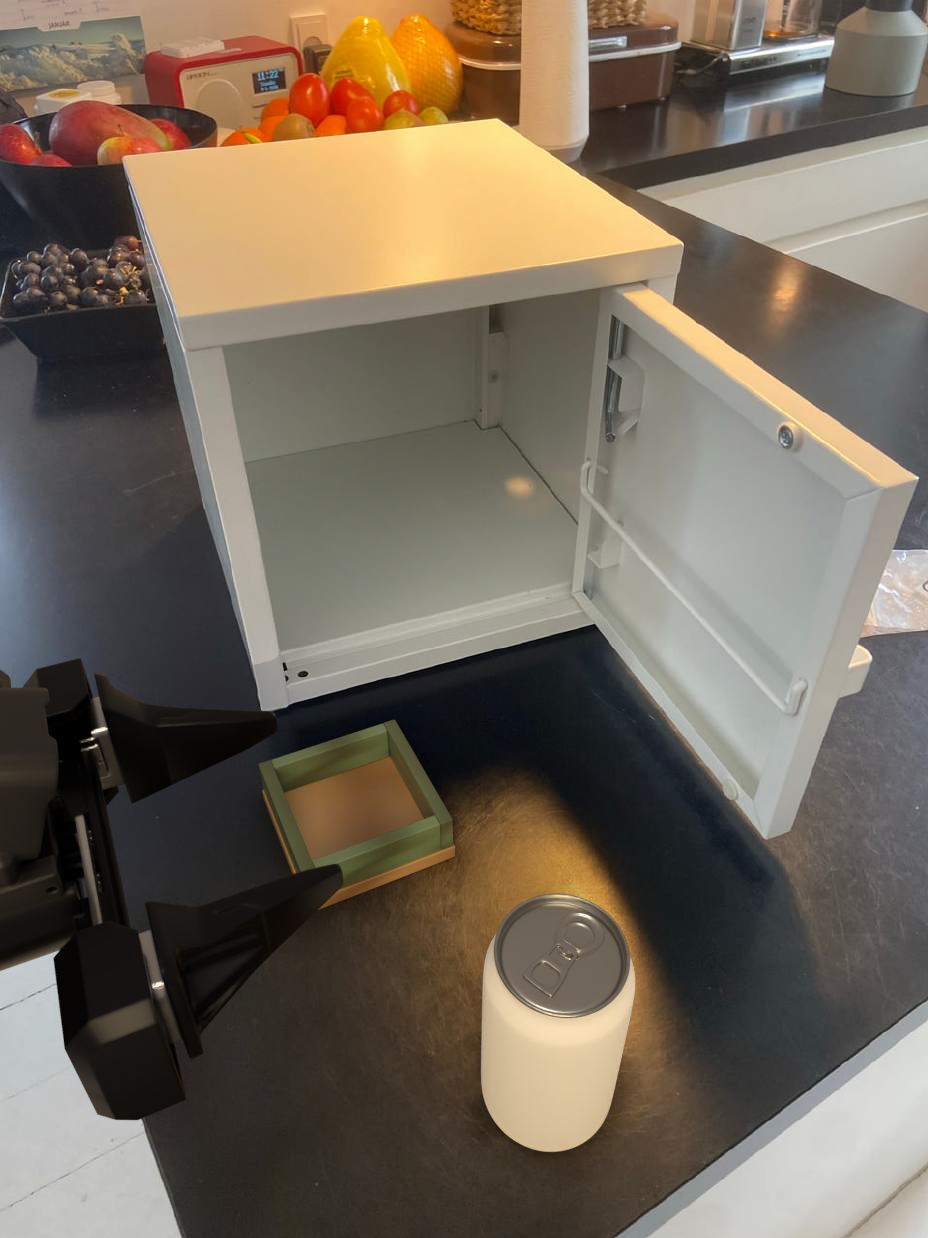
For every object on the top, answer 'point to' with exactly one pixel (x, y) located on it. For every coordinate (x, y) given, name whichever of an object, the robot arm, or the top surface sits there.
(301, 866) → the tray
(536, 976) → the can
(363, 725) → the top surface
